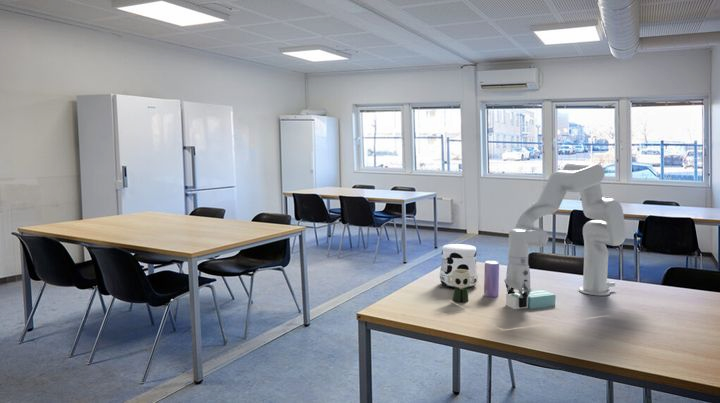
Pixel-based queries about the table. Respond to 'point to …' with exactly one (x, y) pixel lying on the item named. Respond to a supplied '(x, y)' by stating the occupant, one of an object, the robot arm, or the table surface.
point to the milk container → (458, 262)
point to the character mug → (460, 284)
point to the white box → (514, 301)
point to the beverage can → (491, 279)
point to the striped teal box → (540, 299)
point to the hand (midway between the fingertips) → (516, 304)
